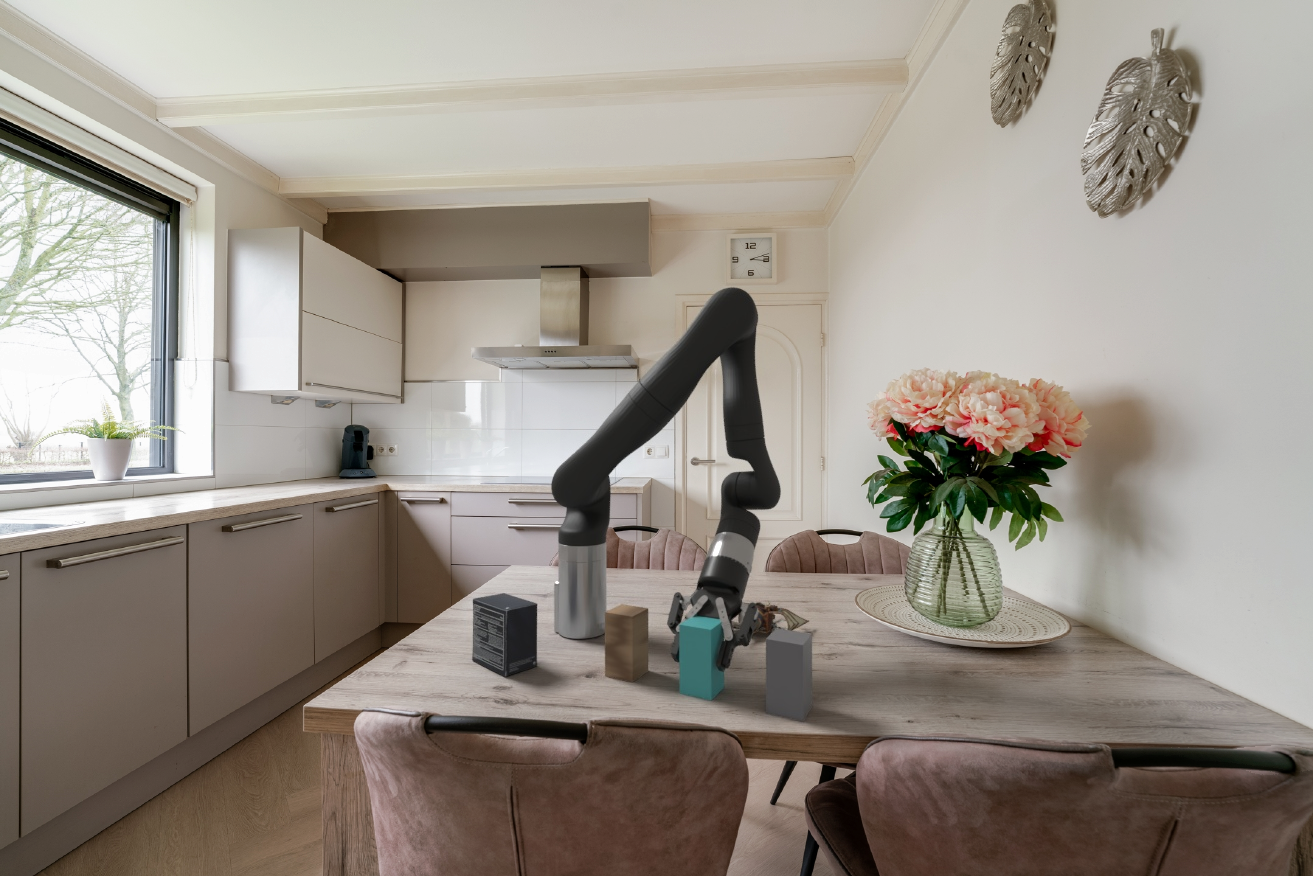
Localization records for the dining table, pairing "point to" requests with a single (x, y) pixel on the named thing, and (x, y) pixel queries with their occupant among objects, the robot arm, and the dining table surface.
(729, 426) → the robot arm
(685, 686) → the teal block
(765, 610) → the figurine
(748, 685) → the dining table surface
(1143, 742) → the dining table surface
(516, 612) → the small box
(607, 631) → the walnut block
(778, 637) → the charcoal block
